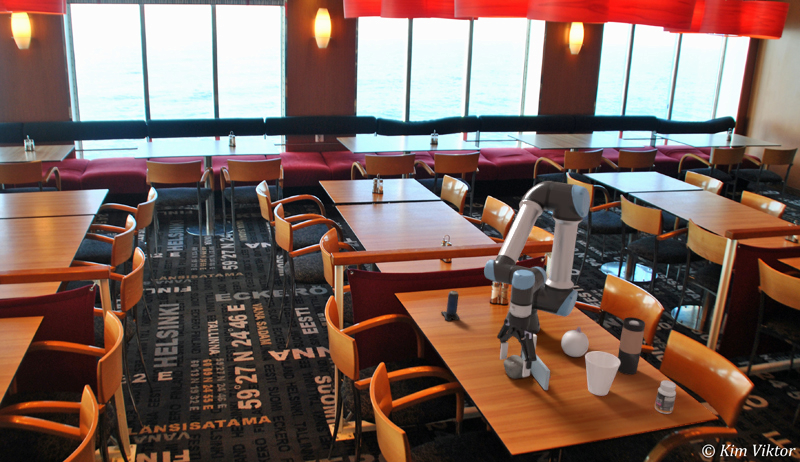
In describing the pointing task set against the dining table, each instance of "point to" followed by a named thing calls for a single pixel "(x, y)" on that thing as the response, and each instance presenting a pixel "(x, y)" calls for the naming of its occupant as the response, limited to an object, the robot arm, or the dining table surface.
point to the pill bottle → (665, 397)
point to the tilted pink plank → (534, 340)
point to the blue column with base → (451, 306)
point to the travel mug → (630, 345)
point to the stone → (514, 366)
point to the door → (539, 371)
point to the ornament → (575, 343)
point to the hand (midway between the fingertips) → (514, 367)
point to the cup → (600, 371)
